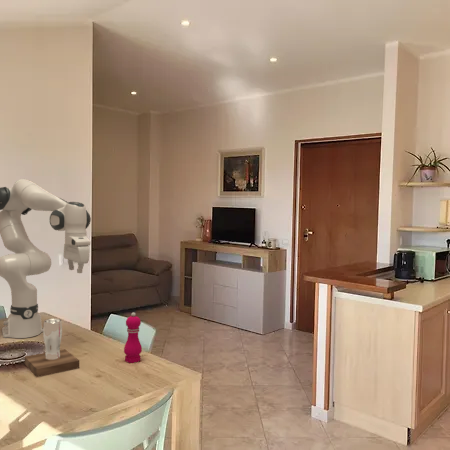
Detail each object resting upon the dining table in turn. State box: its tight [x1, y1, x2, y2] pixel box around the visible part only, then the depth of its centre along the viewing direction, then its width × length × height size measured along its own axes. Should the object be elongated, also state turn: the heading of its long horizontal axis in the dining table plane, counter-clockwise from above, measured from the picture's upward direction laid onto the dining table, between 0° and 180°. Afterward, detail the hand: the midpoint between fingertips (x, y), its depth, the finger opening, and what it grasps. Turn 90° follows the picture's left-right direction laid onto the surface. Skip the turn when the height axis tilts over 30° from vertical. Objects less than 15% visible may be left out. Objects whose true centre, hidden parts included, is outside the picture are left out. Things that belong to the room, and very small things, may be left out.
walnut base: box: [24, 348, 80, 378], centre depth 183 cm, size 16×16×3 cm
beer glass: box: [42, 318, 63, 361], centre depth 183 cm, size 7×7×15 cm
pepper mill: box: [123, 312, 143, 364], centre depth 191 cm, size 7×7×20 cm
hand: (75, 271), depth 202 cm, fingers open, 8 cm apart
